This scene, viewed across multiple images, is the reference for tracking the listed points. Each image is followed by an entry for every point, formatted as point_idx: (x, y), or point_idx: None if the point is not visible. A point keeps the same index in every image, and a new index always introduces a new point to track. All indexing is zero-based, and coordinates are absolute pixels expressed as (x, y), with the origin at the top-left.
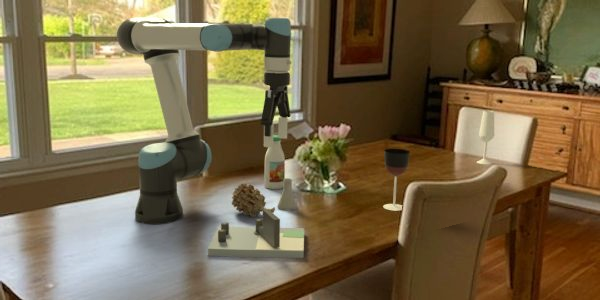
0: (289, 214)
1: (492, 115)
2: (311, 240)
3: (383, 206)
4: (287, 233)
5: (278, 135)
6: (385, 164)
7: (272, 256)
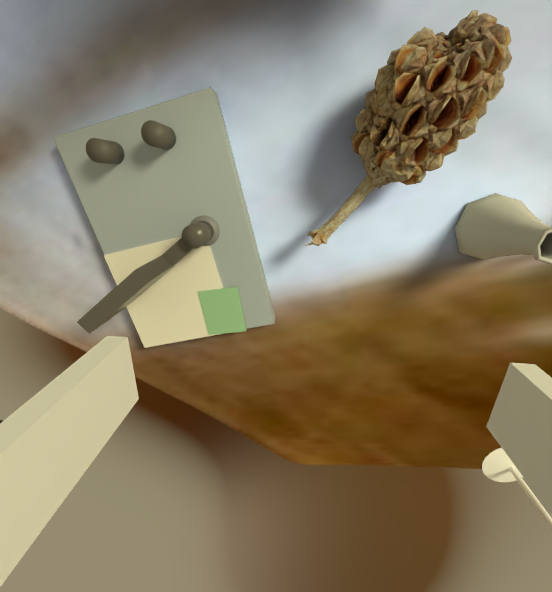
0: (419, 249)
1: None
2: (246, 337)
3: None
4: (220, 297)
5: (526, 380)
6: None
7: None
